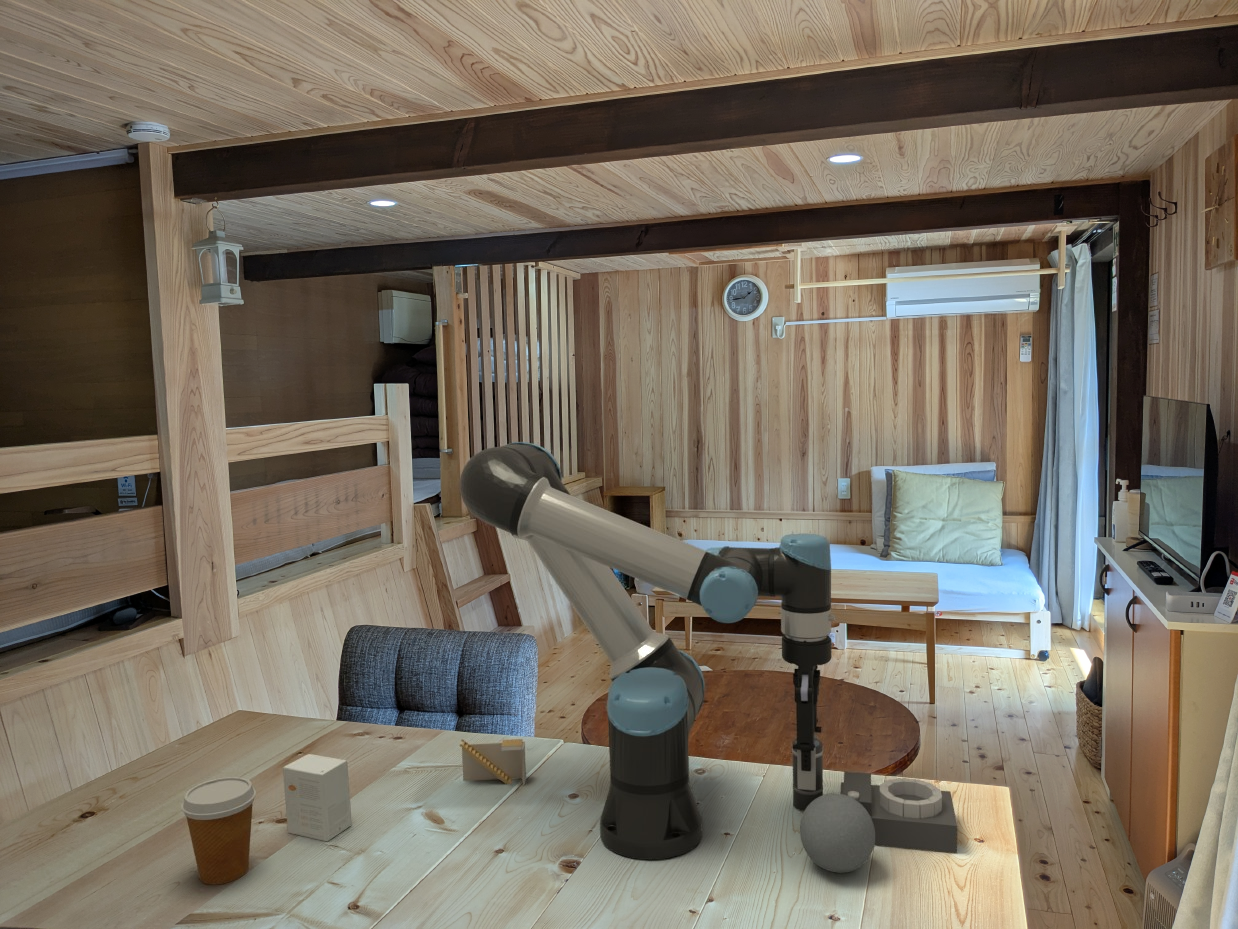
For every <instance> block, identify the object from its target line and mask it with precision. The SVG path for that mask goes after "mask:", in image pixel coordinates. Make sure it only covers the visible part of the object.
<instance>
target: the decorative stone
mask: <svg viewBox="0 0 1238 929" xmlns="http://www.w3.org/2000/svg"><path fill="white" fill-rule="evenodd" d="M799 836H800V841H801V846H802V847H803V850H804V851H805V854H806V855H807V856H808V858H810V860H811V861H812V862H813V863H814V864H816V865H817V866H818V867H820V868H821V869H824V870H826V871H828V872H832V873H839V874H840V873H845V874H846V873H850V872H853V871H855V870H858V869H859V868H861V867H862V866H863V865H864V864H865V863H866V862H867V861H868V860H869V859H870V857H871V855H872V853H873V850H874V848H875V846H876V845H875V829H874V825H873V822H872V819H871V817H870V815H869V813H868V812H867V810H866V809H865V808H864V807H863V806H862V805H861V804H860V803H859V802H858V801H856V800H855V799H853V798H851V797H849V796H846V795H843V794H840V793H836V792H835V793H826V794H823V796H820V797H818V798H816V799H815V800H813V801H812V802H811V803H810V804H809V805H808V806H807V808H806V809H805V811H803V813H802V815H801V818H800V823H799Z"/></svg>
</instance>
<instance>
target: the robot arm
mask: <svg viewBox="0 0 1238 929" xmlns="http://www.w3.org/2000/svg"><path fill="white" fill-rule="evenodd" d="M459 493H460V496H461V500H462V502H463V504H464V506H465V507H466V509H467V510H468V511H469V512H470V513H471V515H473V516H474V517H475V518H477V519H478V520H480V521H482V522H484V523H485V524H488V525H490V526H491V527H494V528H497V529H499V530H502V531H504V532H507V533H509V534H511V536H512V538H515V539H519V540H524V541H526V542H527V543H528V545H530V546H531V548H532V550H533V551H534V552H535V554H536V555H537V557H538V558H539V560H540V562H541V563H542V564H543V565H544V568H545V569H546V570H547V572H548V573H549V575H550V576H551V577H552V579H553V580H554V582H555V583H556V585H557V586H558V587H559V588H558V589H560V590H561V592H562V593H563V595H564V596H565V598H566V599H567V601H568V602H569V603H570V605H571V607H572V609H574V611H575V612H576V614H577V615H578V617H579V618H580V620H581V621H582V622H583V623H584V625H585V627H586V629H587V630H588V631H589V632H590V634H591V635H592V637H593V638H594V640H595V642H596V643H597V645H599V647H600V648H601V650H602V651H603V653H604V655H605V656H606V657H607V659H608V660H609V662H610V670H609V679H610V680H611V683H610V686H609V688H608V693H607V694H608V695H607V696H608V697H607V701H606V712H607V717H608V722H607V723H608V747H609V771H610V772H609V774H610V778H609V779H610V782H609V783H610V784H609V788H608V792H607V795H606V798H605V802H604V806H603V808H602V811H601V815H600V819H599V837H600V840H601V842H602V844H603V845H604V846H605V847H606V848H607V849H609V850H610V851H611V852H614V853H615V854H618V855H621V856H623V857H627V858H630V859H638V860H663V859H671V858H673V857H676V856H677V857H678V856H680V855H683V854H685V853H687V852H690V851H691V850H693V849H694V848H696V847H697V845H698V844H699V843H701V840H702V838H703V818H702V815H701V811H700V809H699V806H698V803H697V801H696V798H695V795H694V793H693V790H692V786H691V784H690V764H689V762H690V761H689V760H690V759H689V758H690V757H689V755H690V753H689V752H690V751H689V738H690V733H691V730H692V727H693V725H694V723H695V721H696V717H697V716H698V715H699V714H700V711H701V709H702V708H703V704H704V700H705V692H706V691H705V690H706V684H705V682H706V681H705V676H704V674H703V672H702V669H701V667H700V665H699V664H698V662H697V661H696V660H695V659H694V658H693V657H692V656H691V655H689V653H686V652H685V651H682V650H679V649H678V648H677V646H676V644H675V643H674V642H673V641H672V638H670V635H668V634H666V633H661V632H656V631H655V630H654V629H653V628H652V627H651V625H650V623H649V622H648V621H647V619H646V618H645V616H644V615H643V614H642V612H641V610H640V609H639V608H638V606H637V605H636V603H635V602H634V601H633V599H632V597H631V596H630V595H629V593H628V592H627V590H626V589H625V588H624V586H623V585H622V584H621V581H620V580H619V579H618V577H617V576H616V574H615V573H614V571H613V570H615V571H618V572H620V573H622V574H625V575H627V576H629V577H632V578H634V579H637V580H639V581H642V582H644V583H647V584H649V585H651V586H654V587H656V588H658V589H661V590H663V591H665V592H668V593H670V594H673V595H674V596H677V597H680V598H683V599H684V600H686V601H689V602H691V603H694V604H695V605H698V606H700V607H702V609H703V611H704V612H705V613H706V614H707V616H708V617H710V618H711V619H712V620H714V621H716V622H718V623H723V624H734V623H736V622H739V621H741V620H743V619H744V618H746V617H747V616H748V614H749V613H751V611H752V610H753V608H754V607H755V606H756V604H757V601H758V597H766V598H767V597H771V598H776V597H777V598H778V597H780V599H781V602H780V603H781V606H780V624H781V625H780V631H781V633H782V634H783V635H782V637H781V658H782V659H783V660H784V661H785V662H786V663H788V664H791V665H792V664H793V665H795V666H796V667H797V668H794V669H793V670H794V672H793V674H792V684H793V685H794V702H795V704H796V705H795V710H796V712H795V713H796V714H795V715H796V716H795V717H796V722H795V724H796V739H797V744H793V749H797V782H798V789H805V790H816V752H815V744H814V739H817V740H818V734H819V733H821V734H822V726H817V724H818V722H819V718H818V699H819V698H818V696H819V695H820V694H819V693H820V682H821V670H820V669H819V668H818V667H819V666H823V665H826V664H828V663H830V661H831V660H832V638H831V637H830V635H831V633H832V623H831V622H834V621H835V620H836V616H835V614H832V613H831V612H832V609H831V608H832V563H831V562H832V559H831V546H830V545H831V544H830V541H829V540H828V539H827V538H826V537H825V536H823V535H820V534H816V533H796V534H795V533H789V534H786V535H784V536H782V537H781V538H780V544H779V547H778V546H777V547H771V548H769V547H768V548H767V547H735V546H734V547H732V546H729V545H727V546H723V547H709V548H707V549H705V550H704V549H702V548H700V547H698V546H695V545H693V544H691V543H687V542H685V541H682V540H681V539H678V538H675V537H674V536H671V535H669V534H666V533H663V532H660V531H658V530H656V529H653V528H652V527H648V526H646V525H644V524H641V523H639V522H637V521H634V520H632V519H630V518H627V517H624V516H622V515H620V514H617V513H615V512H611V511H610V510H607V509H605V508H602V507H600V506H598V505H595V504H592V503H590V502H588V501H585V500H582V499H580V498H578V497H575V496H573V495H571V493H570V492H569V490H568V488H567V487H566V486H565V485H564V483H563V482H562V471H561V467H560V465H559V462H558V460H557V459H556V457H555V456H554V455H553V454H552V453H551V452H550V451H548V449H546V448H544V447H542V446H540V445H538V444H535V443H533V442H532V443H530V442H525V441H516V442H510V443H507V444H505V445H501V446H494V447H489V448H486V449H482V450H481V451H479V452H477V453H475V454H474V455H473V456H472V457H470V458H469V460H468V461H467V462H466V464H465V465H464V466H463V469H462V471H461V474H460V479H459ZM612 569H613V570H612ZM817 733H818V734H817Z"/></svg>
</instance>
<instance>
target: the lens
mask: <svg viewBox="0 0 1238 929" xmlns="http://www.w3.org/2000/svg"><path fill="white" fill-rule="evenodd" d="M793 744H797V738H795V739H794V740H792V744H791V746H792V747H791V749H792V750H791V752H792V753H791V754H792V806H793V808H795V809H796V810H798V811H800V812H804V811H805V809H806V808H807V806H808V805H809V804H810V803H811V802H812V801H813V800H815V799H816V798H818V797H820V796H823V795H824V779H823V778H824V777H823V776H824V774H823V773H824V770H823V768H824V765H823V764H824V763H823V762H824V761H823V760H824V758H823V756H824V749H823V742H822V741H821V740H819V739H818V738H817V739H814V744H815V752H816V790H805V789H798V782H797V749H793Z"/></svg>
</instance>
